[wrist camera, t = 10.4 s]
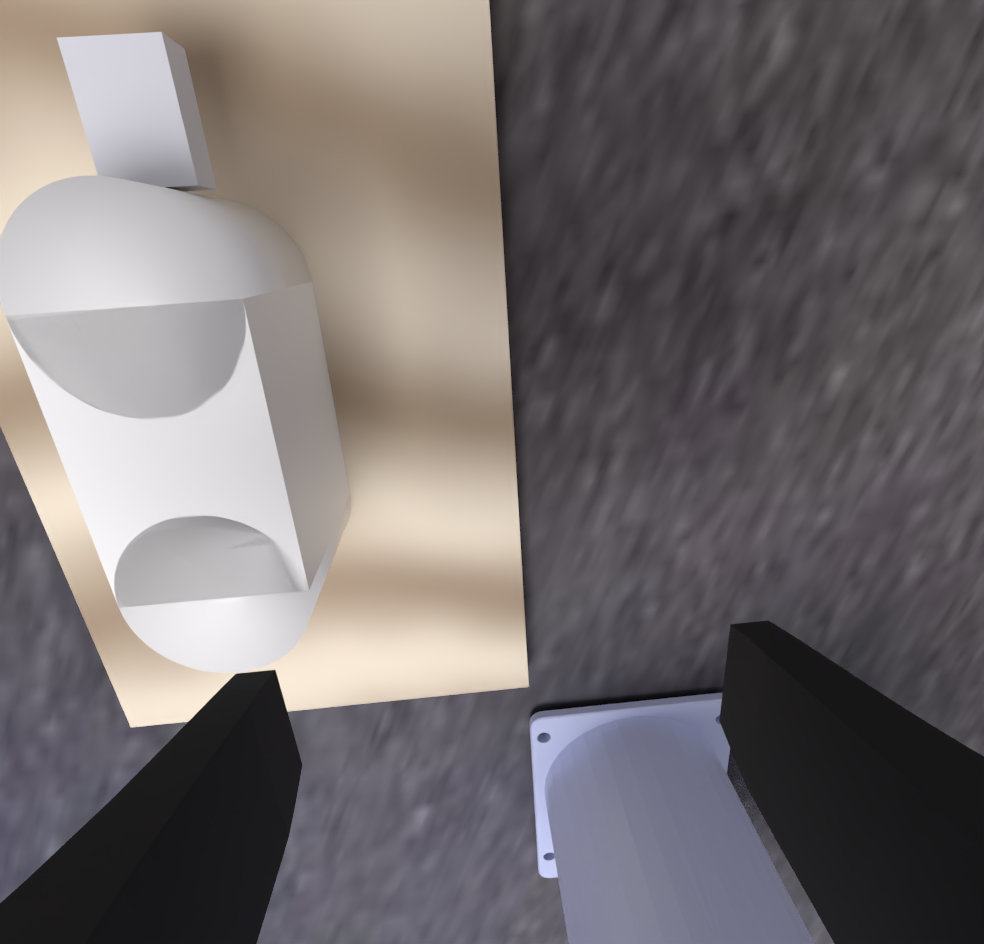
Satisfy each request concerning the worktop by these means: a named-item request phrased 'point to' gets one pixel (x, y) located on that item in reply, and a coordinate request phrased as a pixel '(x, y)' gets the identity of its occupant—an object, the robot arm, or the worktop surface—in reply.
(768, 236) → the worktop surface
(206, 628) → the plug
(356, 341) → the pad
